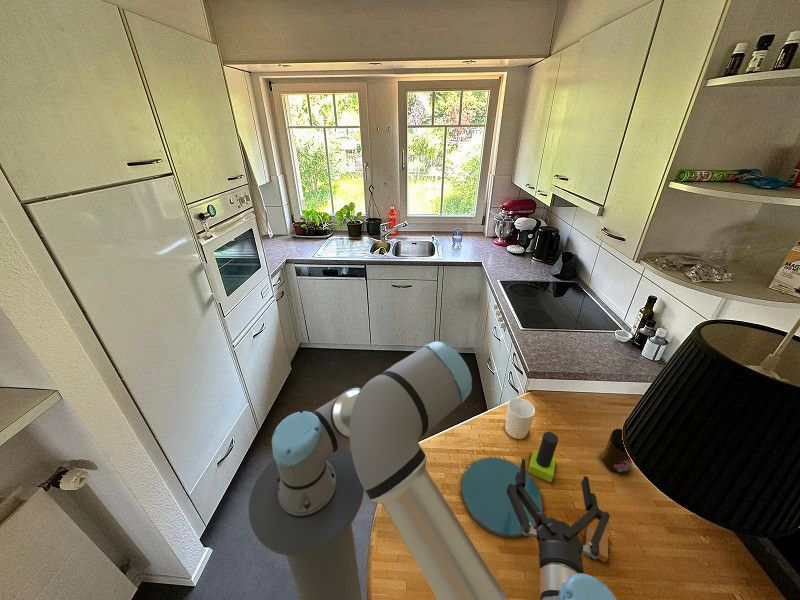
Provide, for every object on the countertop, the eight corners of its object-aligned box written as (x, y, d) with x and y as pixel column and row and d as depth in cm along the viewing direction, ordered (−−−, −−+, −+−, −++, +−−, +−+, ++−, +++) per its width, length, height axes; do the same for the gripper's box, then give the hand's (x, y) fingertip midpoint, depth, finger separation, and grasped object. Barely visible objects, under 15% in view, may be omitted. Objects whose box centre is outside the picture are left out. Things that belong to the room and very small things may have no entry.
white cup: (499, 432, 102) (503, 409, 97) (508, 416, 107) (513, 394, 103) (524, 445, 98) (530, 422, 93) (532, 428, 103) (538, 405, 98)
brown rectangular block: (585, 552, 73) (587, 547, 72) (586, 531, 77) (588, 526, 76) (605, 562, 71) (608, 558, 70) (605, 540, 75) (608, 535, 74)
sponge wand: (527, 472, 90) (536, 441, 84) (531, 455, 94) (540, 424, 88) (551, 482, 87) (562, 451, 81) (553, 465, 92) (564, 433, 86)
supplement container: (605, 472, 90) (617, 447, 85) (597, 451, 95) (608, 427, 91) (632, 476, 88) (646, 451, 84) (622, 455, 94) (634, 430, 89)
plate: (450, 509, 81) (450, 507, 81) (475, 449, 96) (475, 446, 96) (533, 555, 72) (534, 553, 72) (546, 481, 88) (547, 478, 87)
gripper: (489, 558, 64) (496, 465, 82) (633, 611, 57) (607, 497, 75) (494, 538, 61) (501, 446, 79) (648, 592, 54) (617, 477, 71)
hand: (552, 470), depth 77 cm, fingers open, 13 cm apart
